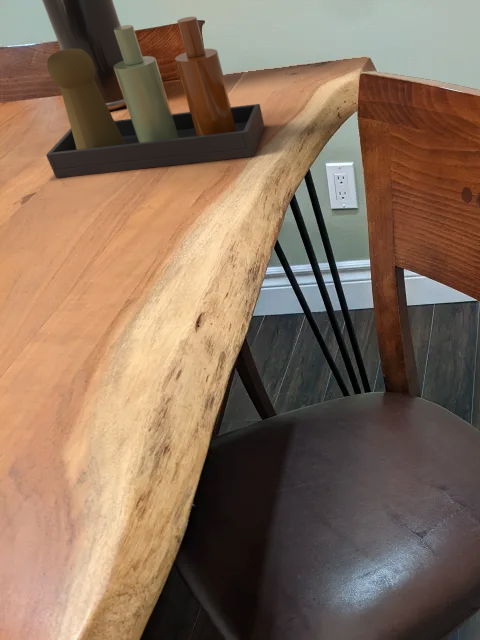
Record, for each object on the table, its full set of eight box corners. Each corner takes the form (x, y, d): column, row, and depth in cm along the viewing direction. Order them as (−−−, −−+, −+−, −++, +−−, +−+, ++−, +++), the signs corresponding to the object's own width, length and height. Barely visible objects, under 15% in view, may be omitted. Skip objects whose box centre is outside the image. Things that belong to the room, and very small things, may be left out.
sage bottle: (148, 138, 90) (111, 23, 81) (184, 135, 89) (151, 19, 80) (135, 152, 86) (94, 35, 77) (172, 149, 86) (136, 31, 77)
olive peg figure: (104, 139, 91) (68, 42, 83) (135, 144, 89) (101, 44, 81) (68, 156, 88) (28, 57, 80) (100, 162, 85) (61, 60, 77)
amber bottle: (204, 131, 89) (172, 15, 80) (241, 128, 88) (213, 11, 79) (193, 146, 86) (158, 27, 77) (231, 143, 85) (201, 22, 76)
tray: (55, 178, 86) (45, 154, 84) (82, 147, 93) (73, 125, 91) (253, 156, 84) (247, 131, 82) (264, 127, 91) (259, 103, 89)
